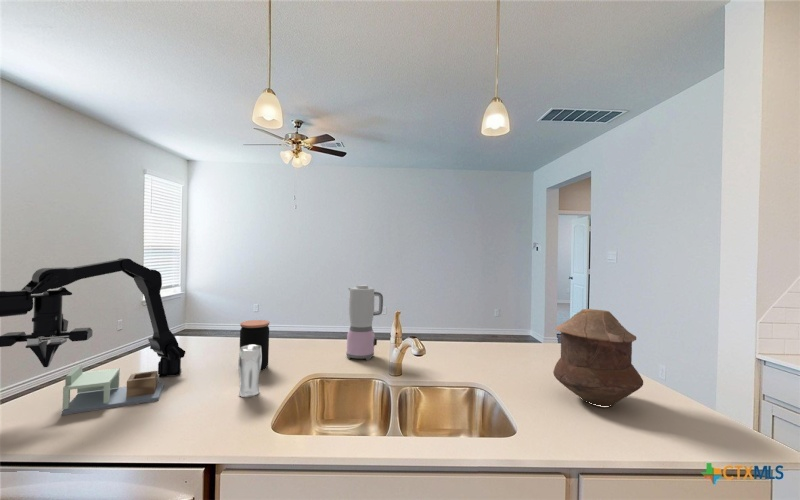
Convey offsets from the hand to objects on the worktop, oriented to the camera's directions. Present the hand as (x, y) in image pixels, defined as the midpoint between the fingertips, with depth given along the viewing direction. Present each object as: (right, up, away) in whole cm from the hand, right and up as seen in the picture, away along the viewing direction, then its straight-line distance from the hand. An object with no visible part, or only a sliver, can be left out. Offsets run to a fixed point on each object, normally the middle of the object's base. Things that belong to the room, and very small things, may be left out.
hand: (46, 366), depth 99 cm
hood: (+9, -11, +5) cm, 15 cm away
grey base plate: (+14, -12, +8) cm, 20 cm away
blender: (+85, -15, +56) cm, 103 cm away
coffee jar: (+43, -13, +38) cm, 59 cm away
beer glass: (+52, -14, +14) cm, 55 cm away
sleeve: (+19, -11, +11) cm, 25 cm away
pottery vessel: (+165, -17, +15) cm, 167 cm away
